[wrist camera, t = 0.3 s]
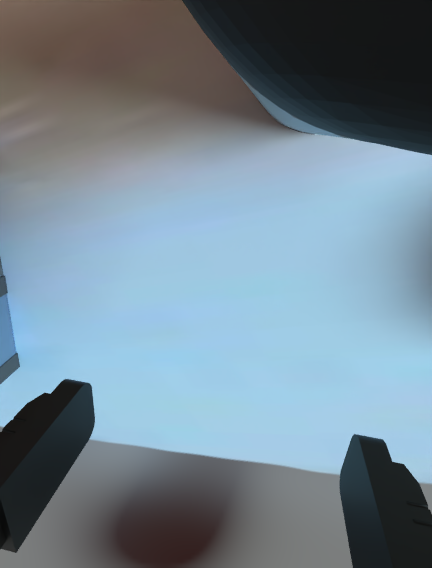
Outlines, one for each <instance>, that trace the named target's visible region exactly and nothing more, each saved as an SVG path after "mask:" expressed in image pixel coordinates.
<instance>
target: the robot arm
mask: <svg viewBox="0 0 432 568" xmlns="http://www.w3.org/2000/svg"><path fill="white" fill-rule="evenodd" d="M182 1H183V2H184V4H185V5H186V7H187V8H188V10H189V11H190V13H191V14H192V15H193V17H194V18H195V20H196V21H197V23H198V24H199V26H200V27H201V29H202V30H203V31H204V33H205V34H206V35H207V36H208V38H209V39H210V40H211V41H212V43H213V44H214V45H215V46H216V48H217V49H218V50H219V51H220V53H221V54H222V55H223V56H224V58H225V59H226V60H227V61H228V63H229V64H230V65H231V66H232V68H233V69H234V70H235V71H236V72H237V74H238V75H239V76H240V77H241V78H242V80H243V81H244V82H245V84H246V85H247V86H248V87H249V89H250V90H251V91H252V92H253V94H254V95H255V96H256V97H257V99H258V100H259V101H260V103H261V104H262V105H263V107H264V108H265V109H266V110H267V111H268V112H269V113H270V114H271V115H272V116H273V117H274V119H275V120H277V121H278V122H279V123H281V124H283V125H285V126H286V127H289V128H290V129H293V130H296V131H299V132H303V133H309V134H320V135H328V136H335V137H342V138H350V139H356V140H360V141H365V142H371V143H377V144H382V145H386V146H391V147H395V148H400V149H404V150H409V151H414V152H419V153H424V154H430V155H432V0H182ZM94 423H95V415H94V405H93V395H92V387H91V385H90V384H89V383H85V382H80V381H75V380H69V379H65V380H63V381H62V382H61V383H60V384H59V385H58V386H57V387H56V388H55V390H54V391H53V392H52V393H51V394H49V393H44V394H42V395H40V396H39V397H37V398H35V399H34V400H32V401H30V402H29V403H27V404H26V405H25V406H24V407H23V408H22V409H21V410H20V411H19V412H18V413H17V415H16V416H15V417H14V419H13V420H11V421H10V422H9V423H8V424H7V425H6V426H5V427H4V428H3V430H2V432H0V549H4V550H8V551H12V552H15V553H16V552H17V551H18V549H19V547H20V546H21V545H22V543H23V542H24V540H25V538H26V537H27V535H28V534H29V532H30V531H31V529H32V527H33V526H34V524H35V523H36V521H37V520H38V518H39V517H40V515H41V513H42V512H43V510H44V509H45V507H46V505H47V504H48V503H49V501H50V499H51V498H52V496H53V495H54V493H55V492H56V490H57V489H58V487H59V485H60V484H61V482H62V481H63V479H64V478H65V476H66V474H67V473H68V471H69V470H70V468H71V467H72V465H73V464H74V462H75V460H76V459H77V457H78V456H79V454H80V453H81V451H82V449H83V448H84V446H85V445H86V443H87V442H88V440H89V438H90V436H91V434H92V431H93V428H94ZM340 495H341V501H342V506H343V513H344V519H345V524H346V530H347V536H348V542H349V548H350V554H351V559H352V565H353V568H432V514H431V512H430V510H429V509H428V504H427V502H426V499H425V497H424V494H423V492H422V489H421V487H420V485H419V483H418V482H417V480H416V479H415V478H414V477H413V475H412V474H411V473H410V472H409V470H408V469H407V468H406V466H405V465H404V464H400V463H395V462H392V460H391V457H390V454H389V451H388V448H387V446H386V443H385V442H384V440H382V439H377V438H372V437H367V436H361V435H356V434H354V435H353V436H352V439H351V441H350V445H349V448H348V451H347V454H346V457H345V460H344V463H343V466H342V469H341V473H340Z"/></svg>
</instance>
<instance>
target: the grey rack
mask: <svg viewBox="0 0 432 568" xmlns="http://www.w3.org/2000/svg"><path fill="white" fill-rule="evenodd" d="M7 293H8V292H7V286H6V280H5V276H3V271H2V265H1V259H0V384H1V383H2V382H3V381H4V380H6V379H7V378H8V377H9V376H10V375H11V374H12V373H13V372H14V371H15V370H17V369H18V368H19V367H20V365H19V359H18V353H16V349H15V343H14V337H13V331H12V325H11V319H10V313H9V307H8V301H7V295H6V294H7Z"/></svg>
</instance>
